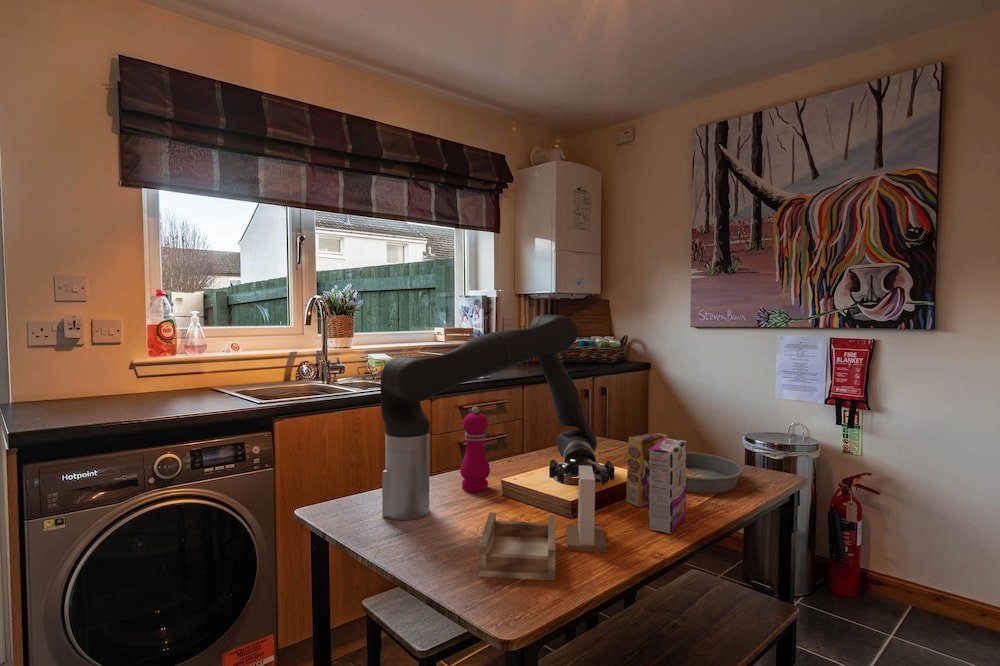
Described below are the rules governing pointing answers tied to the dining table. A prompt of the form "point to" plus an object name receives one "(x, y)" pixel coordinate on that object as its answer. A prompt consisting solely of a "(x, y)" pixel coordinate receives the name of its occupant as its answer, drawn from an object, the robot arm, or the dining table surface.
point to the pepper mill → (475, 453)
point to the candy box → (640, 467)
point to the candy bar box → (667, 485)
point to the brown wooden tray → (517, 549)
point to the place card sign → (586, 517)
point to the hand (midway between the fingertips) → (582, 479)
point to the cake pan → (711, 473)
